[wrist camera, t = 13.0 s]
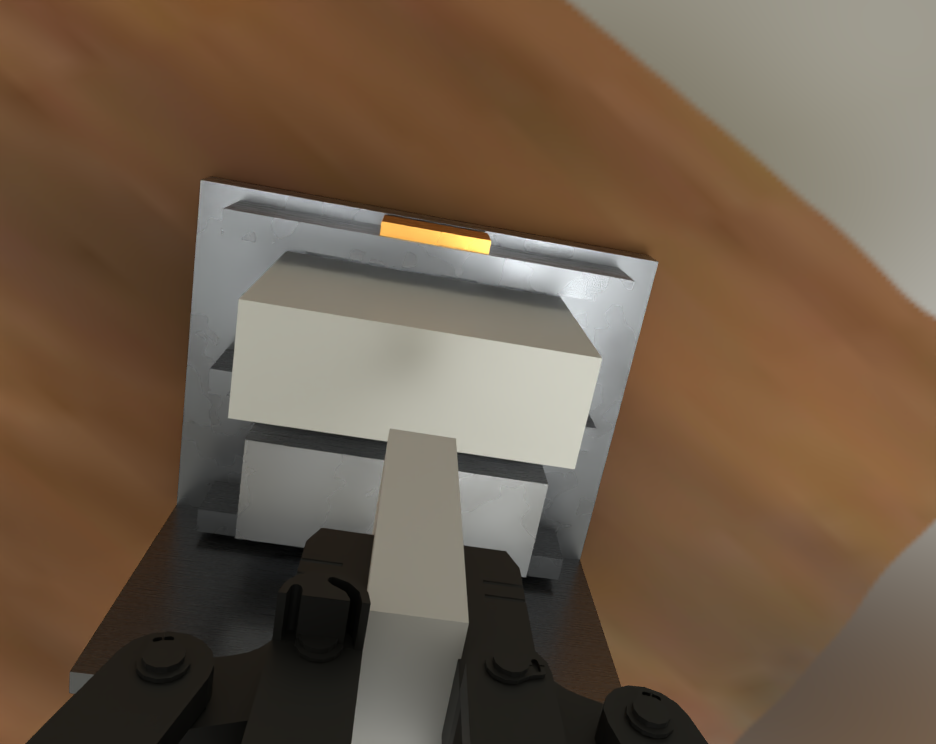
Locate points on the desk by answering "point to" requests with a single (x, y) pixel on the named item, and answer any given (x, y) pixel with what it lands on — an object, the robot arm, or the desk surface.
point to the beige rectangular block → (412, 359)
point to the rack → (359, 459)
